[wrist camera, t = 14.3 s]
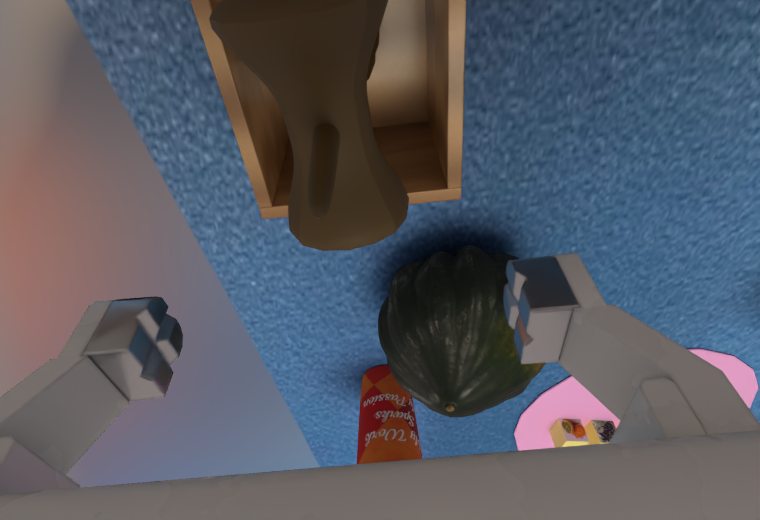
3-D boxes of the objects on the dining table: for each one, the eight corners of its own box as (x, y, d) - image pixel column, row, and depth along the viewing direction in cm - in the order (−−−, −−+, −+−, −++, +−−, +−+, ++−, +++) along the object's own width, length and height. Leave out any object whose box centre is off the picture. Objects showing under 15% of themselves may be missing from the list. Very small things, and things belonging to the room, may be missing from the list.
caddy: (215, -121, 24) (151, -116, 16) (434, -149, 23) (470, -157, 16) (283, 142, 34) (262, 219, 26) (438, 125, 33) (461, 199, 26)
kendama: (374, -76, 25) (402, 11, 10) (396, 96, 31) (433, 314, 16) (268, -57, 25) (132, 57, 10) (310, 110, 31) (267, 334, 16)
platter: (667, 473, 75) (678, 495, 73) (484, 467, 71) (489, 489, 68) (817, 357, 55) (840, 381, 52) (572, 338, 50) (584, 363, 48)
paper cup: (426, 365, 53) (443, 489, 42) (404, 400, 57) (414, 519, 47) (362, 354, 51) (364, 481, 40) (344, 391, 56) (341, 513, 45)
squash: (574, 354, 43) (591, 418, 29) (434, 397, 48) (391, 469, 34) (515, 219, 44) (503, 218, 30) (384, 275, 49) (321, 297, 35)
